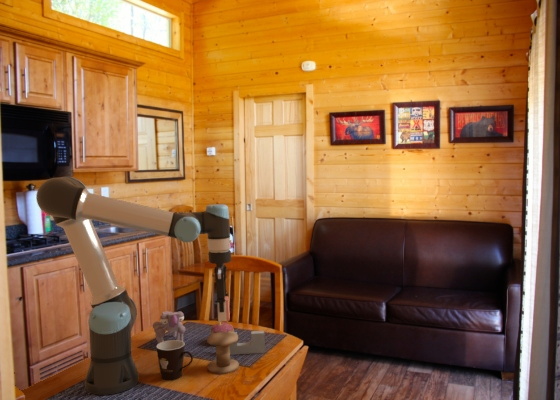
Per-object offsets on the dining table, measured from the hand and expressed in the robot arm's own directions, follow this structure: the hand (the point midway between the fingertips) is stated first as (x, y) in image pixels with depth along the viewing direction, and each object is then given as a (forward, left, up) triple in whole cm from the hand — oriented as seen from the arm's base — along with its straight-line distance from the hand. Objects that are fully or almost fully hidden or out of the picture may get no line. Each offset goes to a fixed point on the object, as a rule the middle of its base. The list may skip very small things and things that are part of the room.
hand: (222, 318), depth 166 cm
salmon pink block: (0, 0, 0) cm, 1 cm away
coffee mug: (-15, -15, -14) cm, 25 cm away
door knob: (0, -9, -14) cm, 16 cm away
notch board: (+7, +3, -14) cm, 16 cm away
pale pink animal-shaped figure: (-20, +13, -14) cm, 27 cm away
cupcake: (-1, +14, -14) cm, 20 cm away
